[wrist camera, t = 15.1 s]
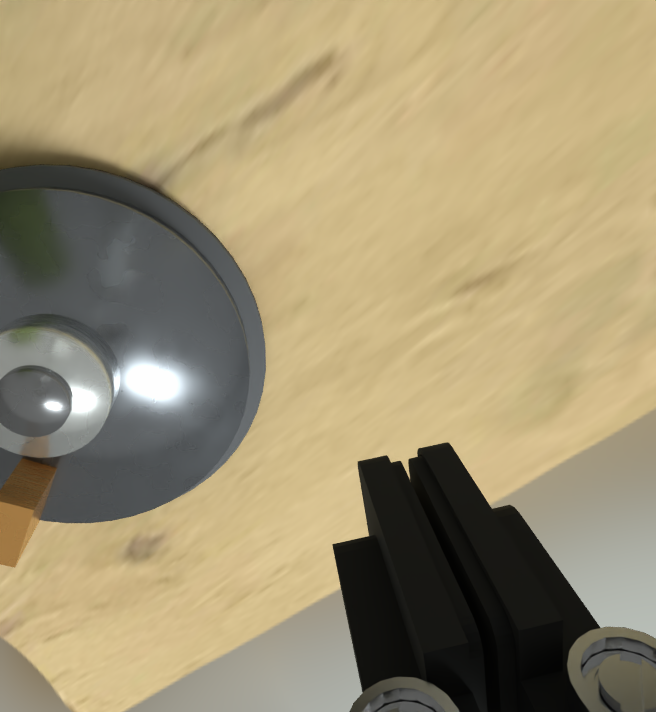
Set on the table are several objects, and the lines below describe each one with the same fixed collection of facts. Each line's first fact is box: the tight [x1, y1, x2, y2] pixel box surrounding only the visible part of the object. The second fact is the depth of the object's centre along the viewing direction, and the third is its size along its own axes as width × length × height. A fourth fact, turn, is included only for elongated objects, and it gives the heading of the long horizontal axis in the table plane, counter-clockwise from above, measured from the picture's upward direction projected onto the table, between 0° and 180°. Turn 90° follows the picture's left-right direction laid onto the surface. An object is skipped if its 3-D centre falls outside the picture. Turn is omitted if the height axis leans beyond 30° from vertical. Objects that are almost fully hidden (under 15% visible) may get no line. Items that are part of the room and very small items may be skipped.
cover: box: [0, 314, 120, 458], centre depth 29 cm, size 7×7×4 cm
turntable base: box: [0, 165, 266, 500], centre depth 33 cm, size 22×22×1 cm
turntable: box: [0, 187, 250, 567], centre depth 30 cm, size 20×20×6 cm
